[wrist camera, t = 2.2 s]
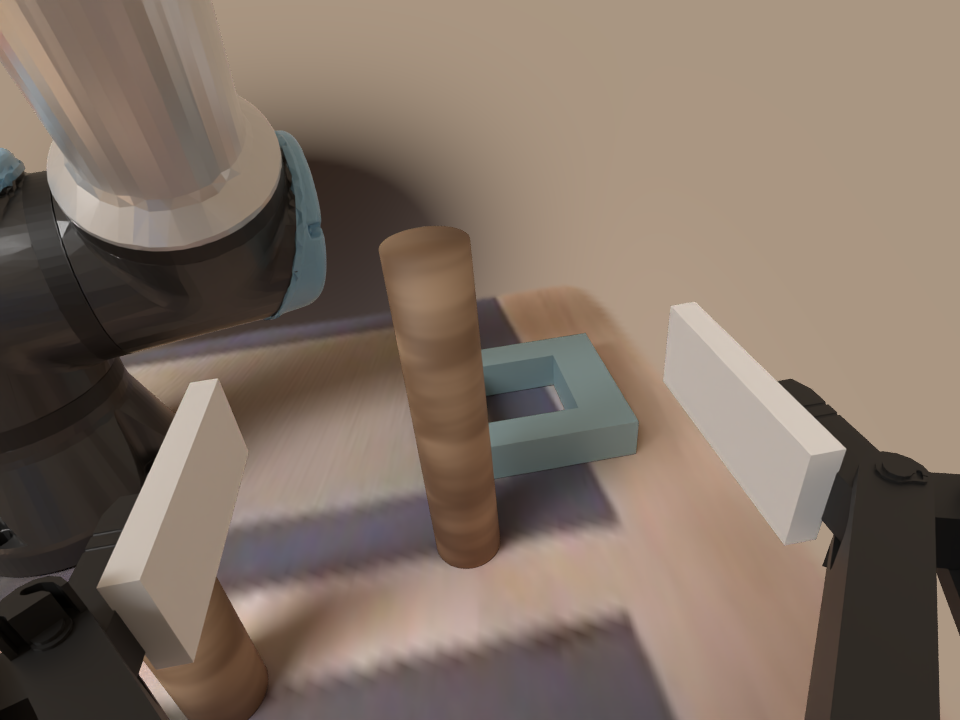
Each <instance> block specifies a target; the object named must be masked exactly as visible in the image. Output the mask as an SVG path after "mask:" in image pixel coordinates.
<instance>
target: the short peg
mask: <svg viewBox="0 0 960 720" xmlns="http://www.w3.org/2000/svg"><path fill="white" fill-rule="evenodd" d="M143 661H144V662H145V663H146V665H147V666H148V667H149V669H150V670H151V671H152V673H153V674H154V675H155V676H156V678H157V679H158V680H159V682H160V683H161V684H162V686H163V687H164V688H165V690H166V691H167V692H168V694H169V695H170V696H171V698H172V699H173V700H174V702H175V703H176V704H177V705H178V707H179V708H180V709H181V711H182V712H183V713H184V715H185V716H186V717H187V719H188V720H248V719H249V718H250V717H251V716H252V715H253V714H254V712H255V711H256V710H257V709H258V707H259V706H260V704H261V702H262V701H263V699H264V696H265V694H266V691H267V687H268V672H267V669H266V666H265V665H264V663H263V661H262V659H261V657H260V655H259V654H258V652H257V650H256V648H255V646H254V644H253V643H252V641H251V639H250V637H249V635H248V633H247V632H246V630H245V628H244V626H243V624H242V622H241V621H240V619H239V617H238V615H237V613H236V611H235V610H234V608H233V606H232V604H231V602H230V600H229V599H228V597H227V595H226V593H225V591H224V590H223V588H222V586H221V584H220V582H219V580H218V579H217V577H216V579H215V583H214V587H213V591H212V594H211V598H210V602H209V606H208V610H207V613H206V617H205V621H204V625H203V629H202V633H201V636H200V640H199V644H198V648H197V652H196V655H195V659H194V662H193V663H188V664H183V665H178V666H173V667H168V668H163V669H158V670H156V669H155V668H154V666H153V665H152V664H151V662H150V661H149V660H148V658H147V657H146V655H145V656H144V659H143Z"/></svg>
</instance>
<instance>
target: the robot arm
mask: <svg viewBox="0 0 960 720" xmlns="http://www.w3.org/2000/svg"><path fill="white" fill-rule="evenodd" d="M0 62H1V63H2V65H3V66H4V68H5V69H6V71H7V72H8V74H9V75H10V76H11V78H12V80H13V81H14V82H15V84H16V85H17V87H18V88H19V90H20V91H21V92H22V94H23V96H24V97H25V99H26V100H27V102H28V103H29V105H30V106H31V108H32V109H33V111H34V112H35V113H36V115H37V116H38V118H39V119H40V121H41V122H42V124H43V125H44V127H45V128H46V130H47V131H48V132H49V134H50V136H51V137H52V138H53V141H52V144H51V146H50V149H49V153H48V157H47V171H42V172H36V173H26V172H24V170H25V166H24V164H23V162H22V161H20V160H18V159H17V158H15V156H14V155H13V154H12V153H11V152H10V151H9V150H7V149H4V148H0V576H2V577H29V576H37V575H43V574H47V573H52V572H56V571H60V570H63V569H66V568H69V567H72V566H75V565H77V566H76V567H75V569H74V571H73V573H72V575H71V577H70V579H69V581H68V582H67V581H66V580H64V579H63V578H61V577H54V576H47V577H43V578H39V579H35V580H32V581H30V582H28V583H26V584H24V585H22V586H20V587H18V588H17V589H15V590H14V591H13V592H11V593H10V594H9V595H8V596H6V597H5V598H4V599H2V600H1V602H0V651H1V652H2V653H0V720H170V719H169V718H168V716H167V715H166V713H165V712H164V711H163V709H162V708H161V706H160V705H159V703H158V702H157V700H156V699H155V697H154V696H153V694H152V693H151V691H150V690H149V688H148V687H147V685H146V684H145V682H144V681H143V680H142V678H141V677H140V676H139V671H140V668H141V665H142V662H143V659H144V656H145V655H146V657H147V658H148V660H149V661H150V662H151V664H152V665H153V666H154V668H155V669H156V670H158V669H163V668H168V667H173V666H178V665H183V664H188V663H193V662H194V659H195V655H196V652H197V648H198V644H199V640H200V636H201V633H202V629H203V625H204V621H205V617H206V613H207V610H208V606H209V602H210V598H211V594H212V591H213V587H214V583H215V579H216V575H217V572H218V568H219V564H220V560H221V556H222V552H223V549H224V545H225V541H226V537H227V533H228V530H229V526H230V522H231V518H232V514H233V511H234V507H235V503H236V499H237V495H238V491H239V488H240V484H241V480H242V476H243V472H244V469H245V465H246V461H247V457H248V453H249V451H248V449H247V446H246V444H245V442H244V439H243V437H242V434H241V432H240V429H239V427H238V425H237V422H236V420H235V417H234V415H233V412H232V410H231V408H230V405H229V403H228V400H227V398H226V396H225V393H224V391H223V388H222V386H221V383H220V381H219V379H218V378H216V379H210V380H203V381H197V382H191V383H190V384H189V386H188V388H187V390H186V393H185V395H184V397H183V399H182V401H181V404H180V406H179V408H178V410H177V412H176V415H175V414H174V413H173V412H172V411H171V410H170V409H169V408H168V407H167V406H165V405H164V404H163V403H162V402H161V401H160V400H159V399H158V398H156V397H155V396H154V395H153V394H152V393H151V392H150V391H149V390H147V389H146V388H145V387H144V386H143V385H142V384H141V383H140V382H138V381H137V380H136V379H135V378H134V377H133V376H132V375H131V374H129V373H128V371H127V370H126V368H125V367H124V365H123V363H122V361H121V359H120V356H123V355H127V354H132V353H135V352H139V351H142V350H146V349H150V348H154V347H158V346H161V345H165V344H169V343H173V342H177V341H180V340H184V339H188V338H192V337H196V336H199V335H203V334H207V333H210V332H215V331H218V330H222V329H226V328H230V327H233V326H238V325H242V324H246V323H249V322H253V321H257V320H262V319H263V320H271V319H275V318H277V317H279V316H280V315H281V314H283V313H285V312H288V311H291V310H295V309H297V308H301V307H304V306H307V305H309V304H311V303H312V302H313V301H315V300H316V299H317V298H318V296H319V295H320V293H321V292H322V289H323V287H324V283H325V277H326V248H325V240H324V235H323V232H322V229H321V227H320V224H321V215H320V208H319V203H318V198H317V194H316V190H315V186H314V182H313V179H312V175H311V172H310V169H309V166H308V164H307V161H306V159H305V156H304V154H303V151H302V149H301V147H300V145H299V144H298V142H297V140H296V139H295V138H294V137H293V136H292V135H291V134H289V133H287V132H284V131H275V130H274V129H273V128H272V126H271V125H270V123H269V122H268V120H267V119H266V118H265V116H264V115H263V114H262V113H261V112H260V111H259V110H258V109H257V108H256V107H255V106H254V105H253V104H251V103H250V102H248V101H247V100H245V99H244V98H243V97H241V96H239V95H237V92H236V89H235V85H234V81H233V78H232V74H231V70H230V66H229V63H228V59H227V55H226V52H225V48H224V44H223V41H222V37H221V33H220V29H219V26H218V22H217V18H216V15H215V11H214V7H213V3H212V0H0ZM663 382H664V383H665V384H666V386H667V387H668V389H669V390H670V391H671V393H672V394H673V395H674V397H675V398H676V399H677V401H678V402H679V403H680V405H681V406H682V407H683V409H684V410H685V412H686V413H687V414H688V416H689V417H690V418H691V420H692V421H693V422H694V424H695V425H696V426H697V428H698V429H699V430H700V432H701V433H702V435H703V436H704V437H705V439H706V440H707V441H708V443H709V444H710V445H711V447H712V448H713V449H714V451H715V452H716V454H717V455H718V456H719V458H720V459H721V460H722V462H723V463H724V464H725V466H726V467H727V468H728V470H729V471H730V472H731V474H732V475H733V477H734V478H735V479H736V481H737V482H738V483H739V485H740V486H741V487H742V489H743V490H744V491H745V493H746V494H747V495H748V497H749V498H750V500H751V501H752V502H753V504H754V505H755V506H756V508H757V509H758V510H759V512H760V513H761V514H762V516H763V517H764V518H765V520H766V521H767V523H768V524H769V525H770V527H771V528H772V529H773V531H774V532H775V533H776V535H777V536H778V537H779V539H780V540H781V541H782V543H783V544H784V546H785V545H790V544H795V543H800V542H805V541H810V540H815V539H816V538H817V535H818V532H819V529H820V526H821V523H822V521H823V522H824V523H825V524H826V526H827V527H828V528H829V529H830V530H831V531H832V533H833V534H834V535H833V538H832V540H831V544H830V546H829V549H828V552H827V554H826V557H825V560H824V563H823V565H822V566H824V567H827V569H826V576H825V583H824V590H823V597H822V604H821V610H820V617H819V624H818V631H817V638H816V645H815V651H814V658H813V665H812V672H811V679H810V686H809V692H808V699H807V706H806V713H805V720H940V703H939V662H938V623H937V622H938V621H937V579H936V573H937V575H938V578H939V581H940V583H941V586H942V589H943V591H944V594H945V597H946V600H947V602H948V605H949V607H950V610H951V613H952V616H953V619H954V621H955V624H956V627H957V629H958V632H959V634H960V474H946V473H931V472H928V471H927V470H926V469H925V468H924V466H922V465H921V464H919V463H917V462H916V461H914V460H913V459H911V458H908V457H905V456H903V455H900V454H897V453H890V452H884V451H882V452H880V451H879V450H877V449H876V448H875V447H874V446H873V445H872V444H871V443H870V442H869V441H868V440H867V439H865V438H864V437H863V436H862V435H861V434H860V433H859V432H858V431H857V430H856V429H855V428H853V427H852V426H851V425H850V424H849V423H848V422H847V421H846V420H845V419H844V418H842V417H841V416H840V415H837V412H836V411H835V410H834V409H833V408H831V406H829V405H826V404H825V401H824V400H823V399H822V398H821V397H820V396H819V395H817V394H816V393H815V392H814V391H813V390H812V389H810V388H808V387H807V386H805V385H803V384H801V383H799V382H797V381H795V380H793V379H788V380H782V381H776V380H775V379H774V378H773V377H772V376H771V375H770V374H769V373H768V372H767V371H766V370H765V369H764V368H763V367H762V366H761V365H760V364H759V363H758V362H757V361H756V360H755V359H754V358H753V357H751V355H749V353H748V352H746V351H745V350H744V349H743V348H742V347H741V346H740V345H739V344H738V343H737V342H736V341H735V340H734V339H733V338H732V337H731V336H730V335H729V334H728V333H727V332H726V331H725V330H724V329H723V328H722V327H721V326H720V325H719V324H718V323H717V322H715V320H713V318H712V317H711V316H709V315H708V314H707V313H706V312H705V311H704V310H703V309H702V308H701V307H700V306H699V305H698V304H697V303H696V302H690V303H685V304H678V305H672V306H671V307H670V317H669V327H668V337H667V347H666V358H665V367H664V377H663Z"/></svg>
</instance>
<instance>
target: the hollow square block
mask: <svg viewBox="0 0 960 720" xmlns="http://www.w3.org/2000/svg"><path fill="white" fill-rule="evenodd" d="M481 353H482V363H483V373H484V383H485V393H486V396H488V395H494V394H500V393H507V392H513V391H519V390H525V389H531V388H537V387H543V386H549V385H554V386H555V389H556V391H557V393H558V395H559V398H560V400H561V402H562V404H563V406H564V409H565V410H562V411H556V412H550V413H544V414H538V415H533V416H527V417H521V418H515V419H509V420H503V421H497V422H491V423H489V433H490V442H491V452H492V462H493V472H494V479H496V478H502V477H508V476H513V475H519V474H525V473H530V472H536V471H541V470H547V469H553V468H558V467H564V466H569V465H575V464H581V463H586V462H592V461H598V460H603V459H609V458H614V457H620V456H626V455H631V454H636V447H637V436H638V424H639V421H638V420H637V418H636V416H635V415H634V413H633V411H632V410H631V408H630V406H629V405H628V403H627V401H626V400H625V398H624V396H623V395H622V393H621V391H620V390H619V388H618V386H617V385H616V383H615V381H614V380H613V378H612V376H611V375H610V373H609V371H608V370H607V368H606V366H605V365H604V363H603V361H602V360H601V358H600V356H599V355H598V353H597V351H596V350H595V348H594V346H593V345H592V343H591V341H590V340H589V338H588V337H587V335H586V333H583V334H577V335H570V336H564V337H558V338H551V339H545V340H539V341H533V342H526V343H520V344H514V345H507V346H501V347H495V348H489V349H482V350H481Z"/></svg>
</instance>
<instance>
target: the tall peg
mask: <svg viewBox="0 0 960 720" xmlns="http://www.w3.org/2000/svg"><path fill="white" fill-rule="evenodd" d="M379 254H380V259H381V263H382V269H383V274H384V279H385V284H386V290H387V294H388V300H389V305H390V310H391V315H392V320H393V325H394V330H395V336H396V341H397V346H398V351H399V356H400V361H401V366H402V371H403V376H404V381H405V387H406V392H407V397H408V402H409V407H410V412H411V417H412V422H413V427H414V433H415V438H416V443H417V448H418V453H419V458H420V463H421V468H422V473H423V478H424V484H425V489H426V494H427V499H428V504H429V509H430V514H431V519H432V524H433V530H434V535H435V540H436V545H437V550H438V553H439V555H440V557H441V558H442V559H443V560H444V561H445V562H446V563H448V564H449V565H451V566H454V567H457V568H463V569H469V568H475V567H478V566H481V565H483V564H485V563H487V562H488V561H490V560H491V559H492V558H493V557H494V556H495V554H496V553H497V551H498V549H499V546H500V532H499V522H498V512H497V502H496V492H495V482H494V472H493V462H492V452H491V442H490V433H489V423H488V413H487V403H486V393H485V383H484V373H483V363H482V353H481V343H480V333H479V323H478V313H477V303H476V293H475V284H474V274H473V264H472V254H471V244H470V237H469V235H468V234H467V233H466V232H464V231H462V230H460V229H457V228H453V227H446V226H427V227H419V228H414V229H409V230H405V231H402V232H399V233H397V234H394V235H392V236H390V237H389V238H387V239H386V240H384V241H383V242H382V243H381V245H380V247H379Z"/></svg>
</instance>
